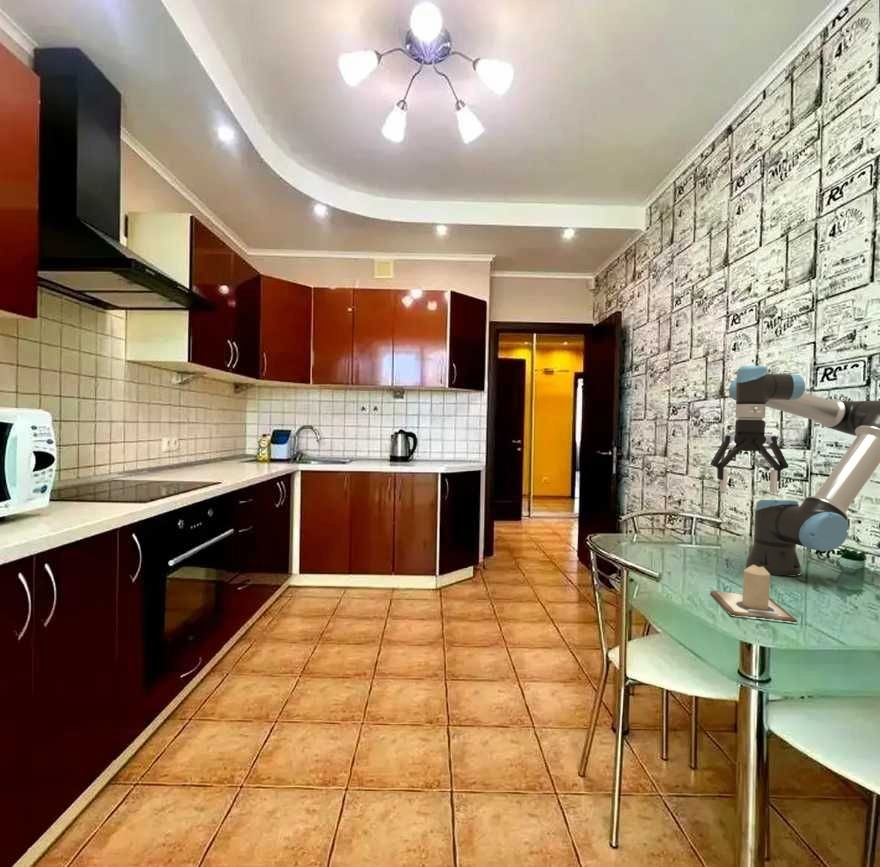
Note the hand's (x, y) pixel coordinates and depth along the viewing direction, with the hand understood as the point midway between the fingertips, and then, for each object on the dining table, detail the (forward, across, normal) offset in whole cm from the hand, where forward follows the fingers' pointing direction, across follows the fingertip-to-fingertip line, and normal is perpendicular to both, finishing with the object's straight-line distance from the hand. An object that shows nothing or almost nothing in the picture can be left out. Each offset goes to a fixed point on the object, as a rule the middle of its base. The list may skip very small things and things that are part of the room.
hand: (748, 491), depth 158 cm
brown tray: (+26, -8, -25) cm, 37 cm away
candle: (+25, -8, -28) cm, 39 cm away
